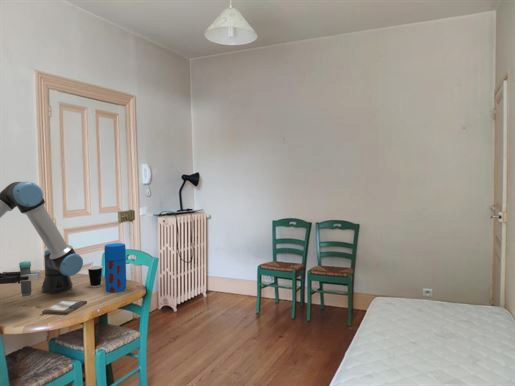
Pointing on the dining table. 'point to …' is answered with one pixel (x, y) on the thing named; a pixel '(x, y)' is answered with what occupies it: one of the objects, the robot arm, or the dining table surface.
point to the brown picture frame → (64, 307)
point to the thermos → (115, 267)
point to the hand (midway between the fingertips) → (38, 275)
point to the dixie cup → (95, 275)
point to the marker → (25, 284)
